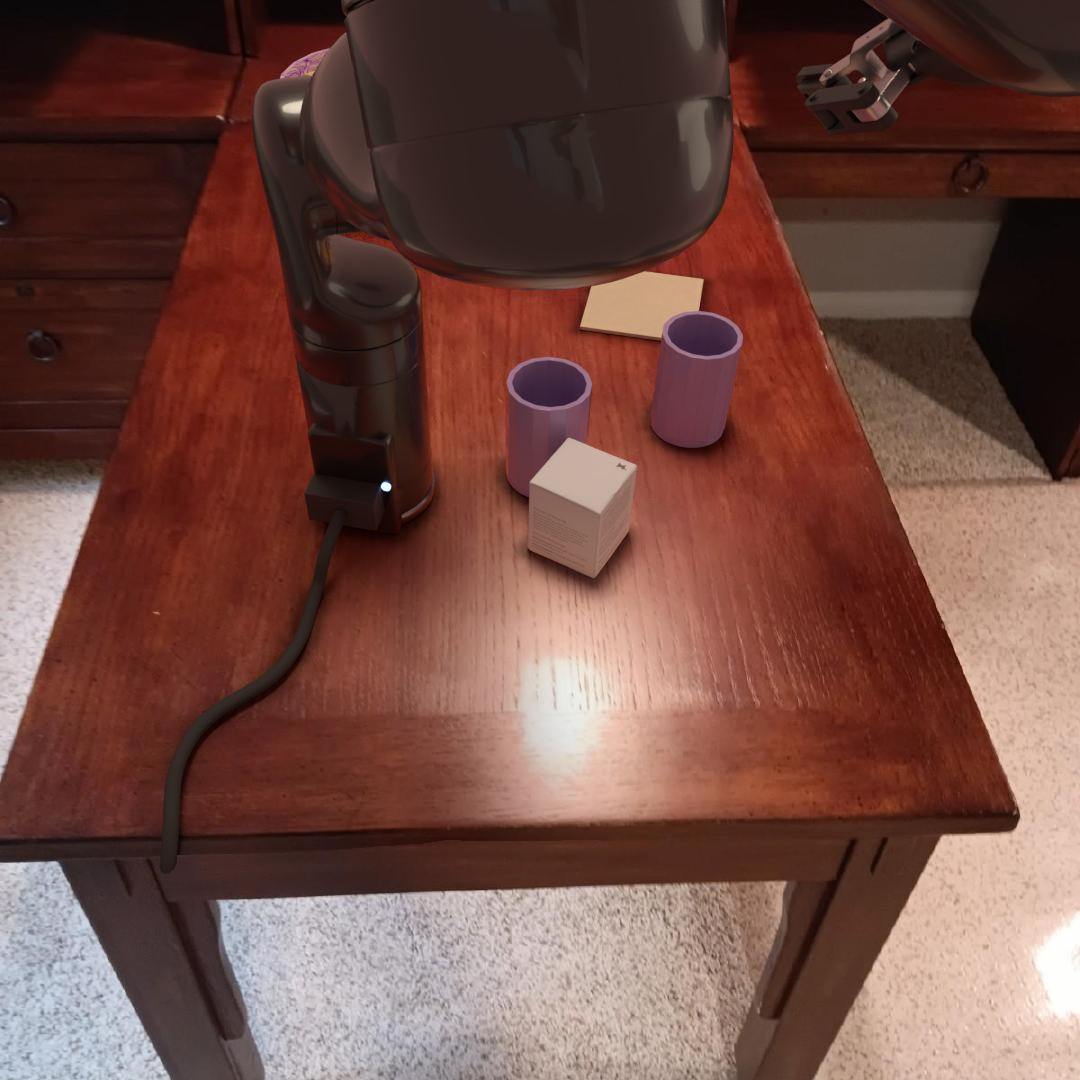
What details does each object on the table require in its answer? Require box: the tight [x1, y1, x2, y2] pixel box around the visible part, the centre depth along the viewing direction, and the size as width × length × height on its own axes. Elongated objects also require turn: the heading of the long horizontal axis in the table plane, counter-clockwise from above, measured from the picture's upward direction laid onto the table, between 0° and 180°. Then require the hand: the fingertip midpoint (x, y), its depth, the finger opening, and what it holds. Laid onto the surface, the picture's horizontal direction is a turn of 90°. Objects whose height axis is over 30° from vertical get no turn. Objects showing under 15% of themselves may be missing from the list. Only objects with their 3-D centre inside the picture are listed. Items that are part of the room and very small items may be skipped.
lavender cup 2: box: [649, 310, 744, 449], centre depth 89 cm, size 6×6×10 cm
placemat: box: [579, 271, 705, 342], centre depth 104 cm, size 11×11×1 cm
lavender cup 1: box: [505, 356, 593, 498], centre depth 84 cm, size 6×6×10 cm
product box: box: [526, 438, 638, 579], centre depth 80 cm, size 6×6×7 cm
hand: (852, 29), depth 65 cm, fingers open, 8 cm apart
